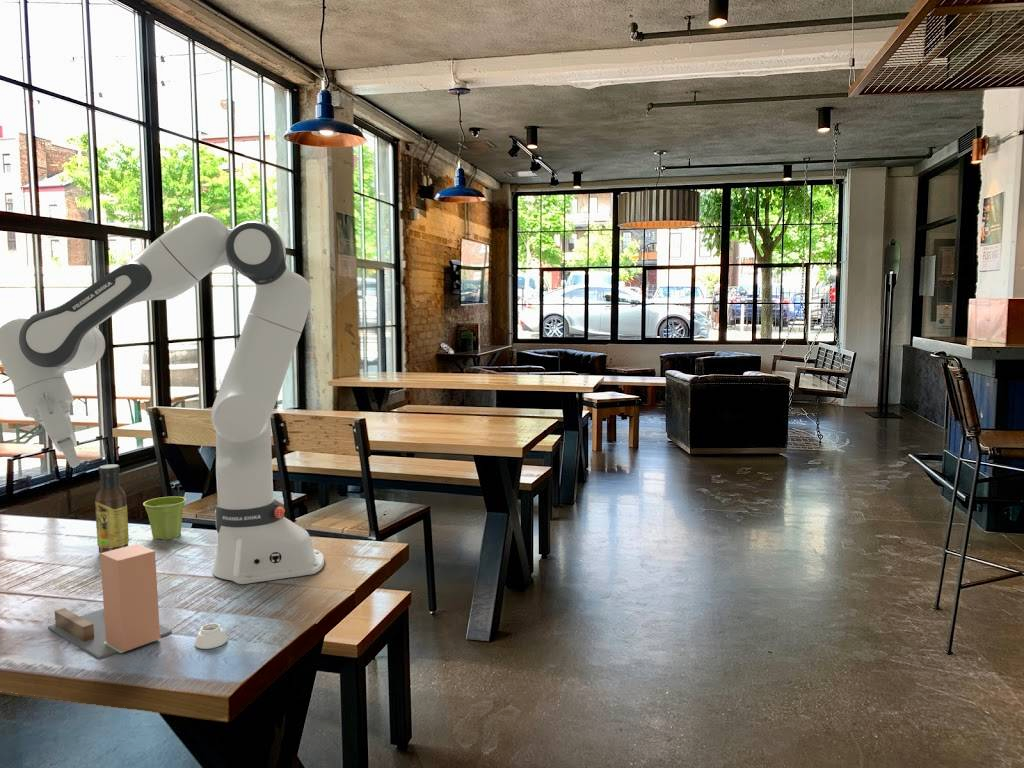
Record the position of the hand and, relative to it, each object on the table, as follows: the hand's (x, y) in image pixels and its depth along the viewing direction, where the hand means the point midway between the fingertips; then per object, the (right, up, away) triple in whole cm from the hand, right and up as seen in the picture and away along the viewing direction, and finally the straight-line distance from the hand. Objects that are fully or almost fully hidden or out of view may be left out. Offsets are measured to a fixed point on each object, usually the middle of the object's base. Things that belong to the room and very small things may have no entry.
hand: (75, 465), depth 150 cm
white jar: (+35, -27, -22) cm, 50 cm away
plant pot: (+2, -21, +35) cm, 41 cm away
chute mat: (+16, -27, -18) cm, 36 cm away
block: (+22, -27, -22) cm, 42 cm away
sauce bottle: (-5, -22, +24) cm, 33 cm away
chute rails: (+13, -26, -15) cm, 33 cm away
